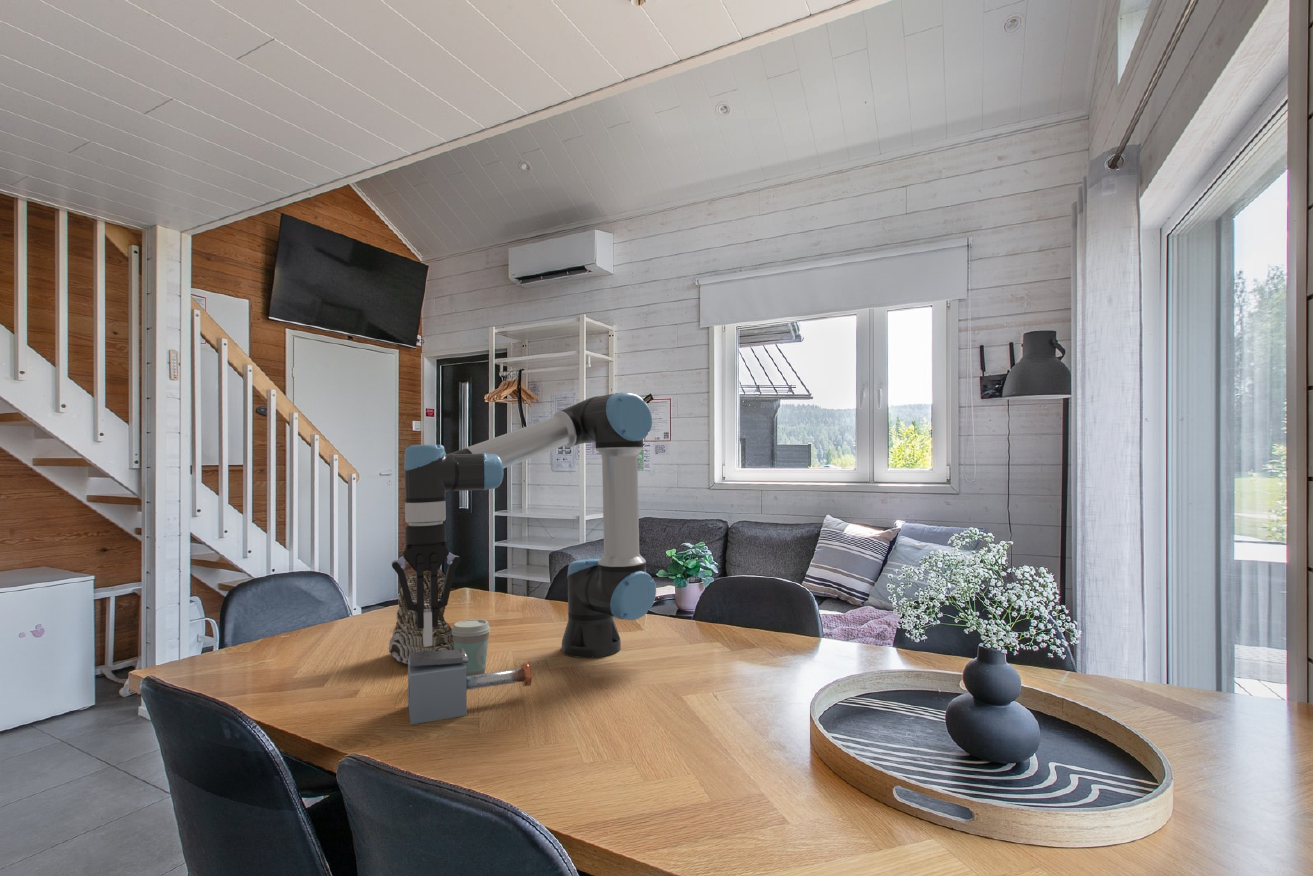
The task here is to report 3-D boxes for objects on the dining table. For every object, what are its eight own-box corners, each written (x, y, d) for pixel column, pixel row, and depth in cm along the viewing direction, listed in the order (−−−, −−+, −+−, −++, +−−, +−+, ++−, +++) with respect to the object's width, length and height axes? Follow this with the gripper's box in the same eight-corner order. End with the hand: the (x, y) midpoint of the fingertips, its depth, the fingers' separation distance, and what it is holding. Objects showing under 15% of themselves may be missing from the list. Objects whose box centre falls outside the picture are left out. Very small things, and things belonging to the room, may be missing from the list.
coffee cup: (480, 684, 142) (479, 628, 142) (444, 681, 143) (444, 627, 144) (497, 671, 150) (497, 619, 150) (463, 669, 152) (463, 617, 152)
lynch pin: (526, 681, 136) (526, 659, 136) (531, 688, 132) (531, 665, 132) (451, 693, 130) (451, 670, 130) (454, 700, 126) (454, 676, 126)
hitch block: (460, 698, 133) (460, 654, 133) (466, 715, 124) (466, 668, 124) (408, 706, 129) (408, 660, 129) (410, 724, 120) (410, 675, 120)
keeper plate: (464, 654, 132) (464, 648, 132) (468, 663, 126) (468, 656, 126) (408, 657, 128) (409, 651, 128) (410, 666, 122) (411, 660, 122)
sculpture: (376, 658, 162) (376, 557, 163) (427, 645, 172) (427, 551, 173) (418, 674, 149) (418, 565, 150) (470, 660, 159) (470, 557, 160)
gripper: (458, 519, 133) (460, 635, 133) (389, 523, 128) (391, 644, 127) (462, 522, 126) (464, 644, 126) (390, 527, 121) (392, 654, 120)
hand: (427, 644), depth 126 cm, fingers closed
